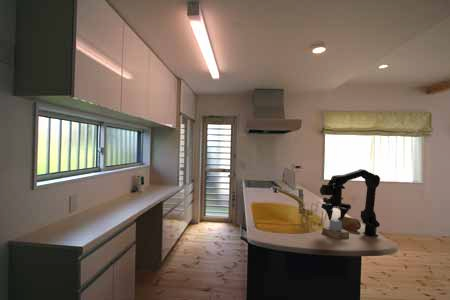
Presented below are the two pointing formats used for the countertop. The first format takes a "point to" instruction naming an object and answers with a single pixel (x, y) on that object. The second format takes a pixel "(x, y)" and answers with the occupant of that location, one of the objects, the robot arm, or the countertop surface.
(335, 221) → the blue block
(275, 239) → the countertop surface
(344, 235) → the walnut block
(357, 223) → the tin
